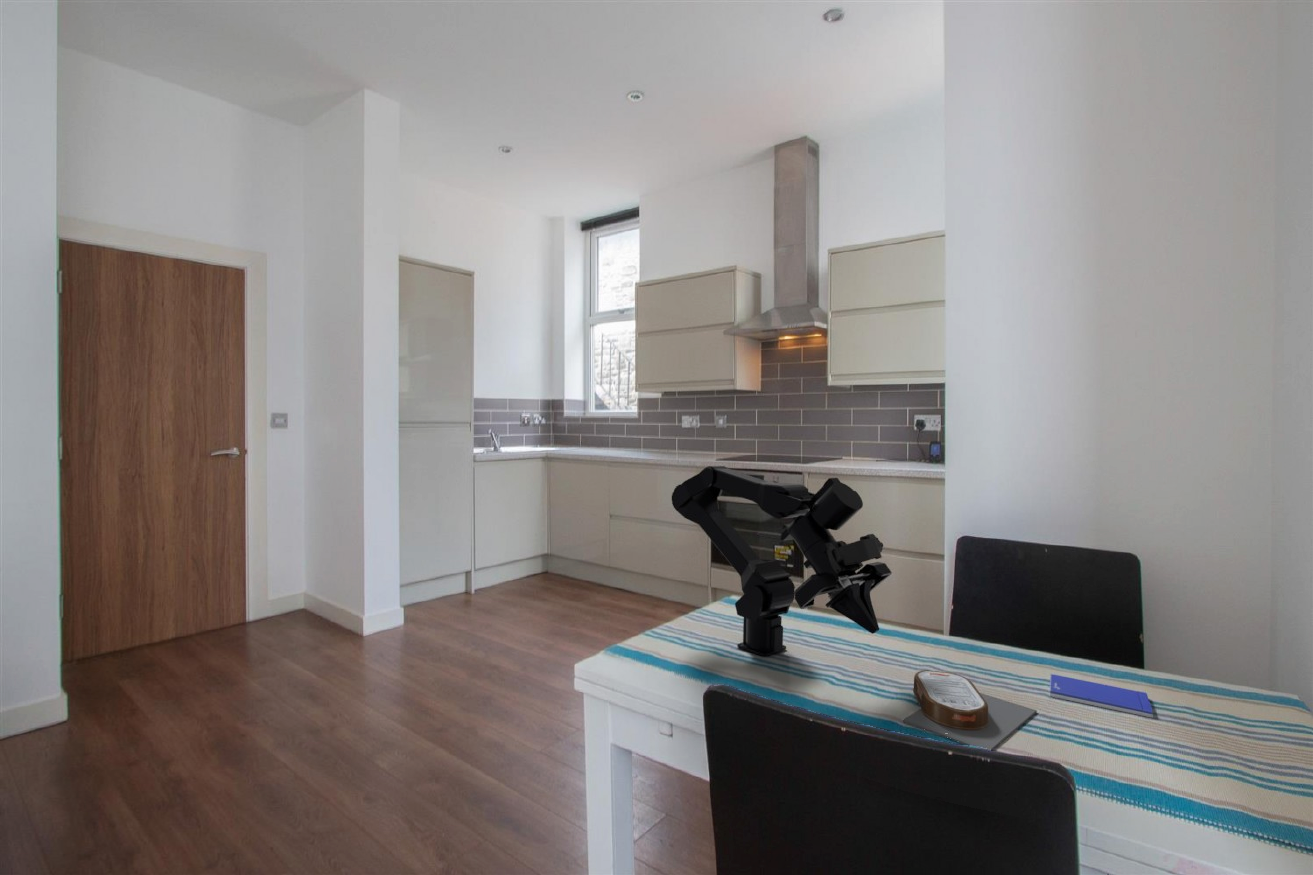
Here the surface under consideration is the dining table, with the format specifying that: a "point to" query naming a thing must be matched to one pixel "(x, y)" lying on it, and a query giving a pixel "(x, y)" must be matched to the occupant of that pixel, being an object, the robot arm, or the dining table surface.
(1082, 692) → the hard drive
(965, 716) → the tin
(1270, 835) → the dining table surface
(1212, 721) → the dining table surface
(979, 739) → the mat
